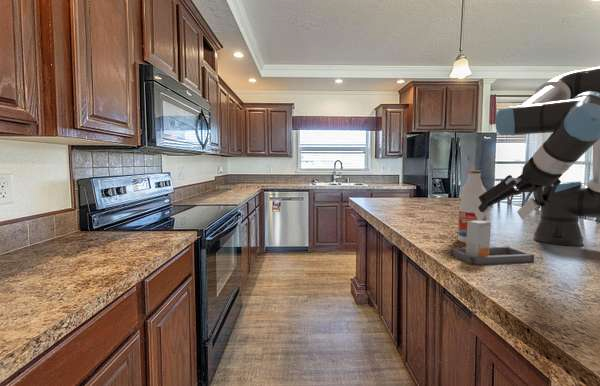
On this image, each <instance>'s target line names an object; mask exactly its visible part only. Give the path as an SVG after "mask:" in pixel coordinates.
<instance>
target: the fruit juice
mask: <svg viewBox="0 0 600 386" xmlns="http://www.w3.org/2000/svg"><path fill="white" fill-rule="evenodd" d="M466 174H467V179H466V180H465V184H464V185H463V186H462V188H461V190H460V192H459V195H460V198H461V201H460V202H459V205H458V206H459V208H458V210H459V211H458V230H457V231H458V237H457V238H458V241H459V242H460V243H463V244H464V243H465V244H466V239H467V222H468V221H476V220H478V219H477V217H476V215H475V212H476V211H477V209H478V207H479V206H480V205H481V201H480V199H479V196H481V195H482V194H484V193H485V192H487V191H488V190H487V189H486V188H485V186H484V185H483V182H482V179H481V175H482V170H480V169H479V170H478V169H477V170H475V169H474V170H473V169H472V170H470V169H469V170H467V171H466ZM482 221H487V215H486V216H485V217H484V218H483V219H482Z"/></svg>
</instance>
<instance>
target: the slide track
mask: <svg viewBox="0 0 600 386" xmlns="http://www.w3.org/2000/svg"><path fill="white" fill-rule="evenodd" d="M499 254H500V255H499ZM450 255H451V256H453V257H454V258H457V259H459V260H461V261H464V262H466V263H468V264H470V265H472V266H473V265H486V264H487V265H489V264H490V265H491V264H511V263H528V262H530V261H531V262H535V254H532V253H529V252H526V251H523V250H520V249H517V248H514V247H511V246H508V245H506V246H505V245H504V246H503V245H502V246H500V245H493V246H489V256H476V257H472V256H469V255H467V254H466V246H465V247H464V246H463V247H461V248H460V247H459V248H450ZM531 262H530V263H531Z"/></svg>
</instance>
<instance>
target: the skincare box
mask: <svg viewBox="0 0 600 386" xmlns="http://www.w3.org/2000/svg"><path fill="white" fill-rule="evenodd" d="M491 227H492V222H491V221H487V220H486V221H482V220H481V221H478V220H476V221H468V222H467V239H466V243H465V247H466V254H467V255H469V256H472V257H476V256H490V254H489V247H490V239H491Z"/></svg>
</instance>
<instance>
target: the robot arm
mask: <svg viewBox="0 0 600 386" xmlns="http://www.w3.org/2000/svg"><path fill="white" fill-rule="evenodd" d="M495 130H496V132H497V134H498V135H501V136H512V137H513V136H517V135H518V136H519V135H530V134H531V135H533V134H534V135H535V134H546V133H547V134H548V133H550V135H549V136H548V138H547V139H546V140H545V141H544V142H543V143H542V144H541V146H539V148H538V149H537V150H536V151H535V152H534V153H533V155H532V156H531V157H530V158H529V160H527V162H526V163H525V164H524V165H523V166H522V171H521V174H520V175H519V176H517V177H513V176H512V175H511V174H509V175H507V176H505V178H504V179H503V180H502V181H500V182H499V183H497V184H496V185H494V186H493V187H491V188H489V189H488V190H486V191H487V192H485V193H484V194H482V195H481V196H479V199H480V201H481V205H480V206H479V207H478V209H477V211H476V212H475V215H476V217H477V219H478V221H481V220H482V219H483V218H484V217H485V216H486V217H487V214H489V212H490V211H491V210H492V209H493V208H494V206H493V205H495V204H498V203H500V202H502V201H504V200H506V199H508V198H510V197H512V196H519V195H520V194H523V193H533V197H530V198H529V199H528V200H527V201H526V202H525V203H524V204H523V205H522V206H521V207H520V208H519V209H517V211H516V212H517V213H516V214H517V215H519V218H520V219H521V220H525V219H526V218H527V217H528V216H529V215H530V214H531V213H532V212H533V211H535V210H536V209H537V208H538V207H540V218H539V222H538V225H537V227H536V230H535V231H534V232H533V239H534V240H535V241H538V242H541V243H544V244H551V245H558V246H570V247H571V246H573V247H575V246H582V245H584V237H583V236H582V235H583V234H582V230H581V228H580V224H579V219H580V217H581V218H594V219H595V218H596V219H600V66H596V67H591V68H586V69H578V70H573V71H570V72H567V73H563V74H560V75H558V76H555V77H554V78H551V79H550V80H547V81H545V82H544V83H543V84H541V85H540V86H539V87H537V89H536V90H535V92H534V94H532V95H531V96H530V97H528V98H527V99H525V100H524V101H522V102H521V103H519V104H518V105H516V106H515V105H514V106H511V105H510V106H507V107H502V108H499V109H498V111H497V112H496V115H495ZM591 147H592V179H590V180H589V181H588V182H587V184H586V185H585V184H584V185H582V184H583V183H582V181H564V182H562V181H561V179H560V178H561V177H562V176H563V174H564V173H566V172H567V171H568V170H570V168H571V167H572V166H573V165H574V164H575V163H576V162H577V161H578V160H579V159H580V158H581V157H582V156H583V155H584V154H585V153H586V152H587V151H588V150H589V149H591ZM515 187H516V188H515ZM516 189H517V190H516Z"/></svg>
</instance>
